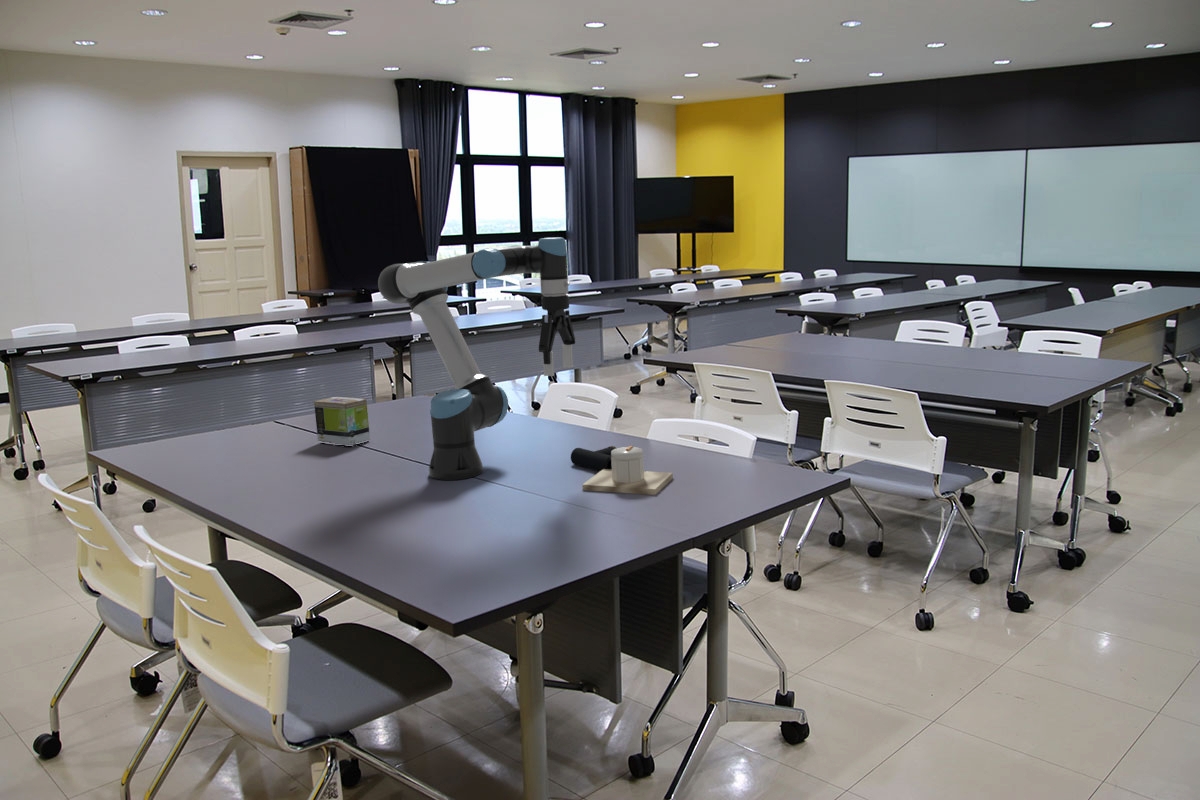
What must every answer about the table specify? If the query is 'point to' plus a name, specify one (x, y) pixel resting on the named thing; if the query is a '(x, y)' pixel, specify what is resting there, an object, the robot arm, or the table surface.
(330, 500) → the table surface
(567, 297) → the robot arm
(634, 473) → the knob
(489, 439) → the table surface
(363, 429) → the tea box
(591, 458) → the pipe connector
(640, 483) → the shaft base
